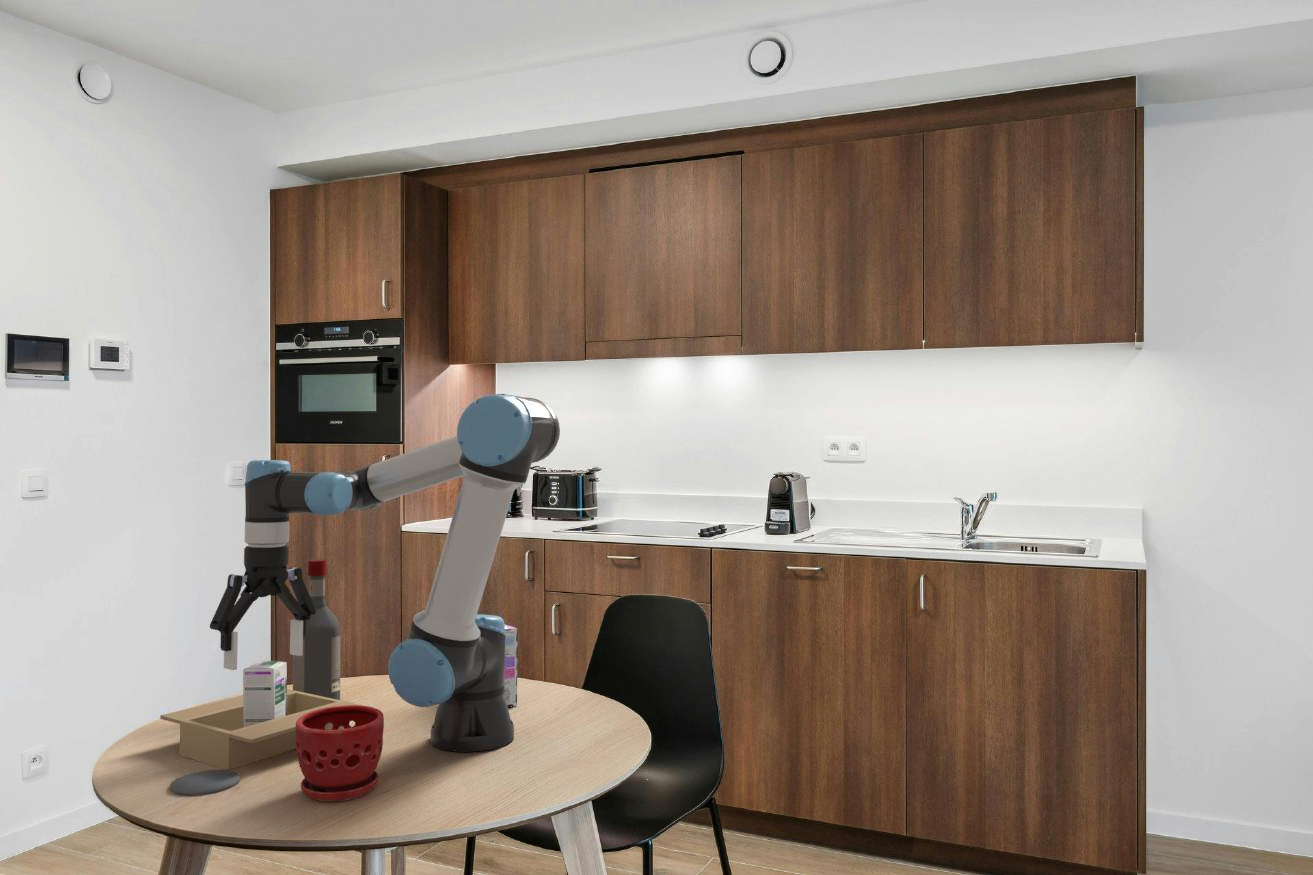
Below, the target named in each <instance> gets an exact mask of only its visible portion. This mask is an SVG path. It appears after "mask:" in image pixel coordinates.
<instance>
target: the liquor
mask: <svg viewBox="0 0 1313 875" xmlns="http://www.w3.org/2000/svg"><path fill="white" fill-rule="evenodd" d="M327 562H328V561H327V559H320V558H319V559H309V560H308V561H307V576H309V591H308V593H309V595H310V598H311V600H312V603H313V605H314V607H315V610H316V613H315V614H314V615H310V616H311V617H310V619H309V620H306V634H305V636H303V655H302V656H296V655H292V690H294V691H299V692H304V693H308V694H313V695H318V696H322V697H327V698H332V699H336V700H341V645H342V644H341V640H342V638H341V635H342V634H341V630H342V628H341V624H340V622H339V619H338V618H337V617H336V615H335V614H334V613H333V612H332V610H330V608H329V607H328V606H327V602H326V576H327V575H328V573H327V571H328V569H327V568H328V567H327V566H328V565H327V564H328V563H327Z"/></svg>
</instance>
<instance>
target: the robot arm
mask: <svg viewBox="0 0 1313 875" xmlns="http://www.w3.org/2000/svg"><path fill="white" fill-rule="evenodd" d="M560 429H561V427H560V422H559V419H558V417H557V414H556V412H555V411H554V410H553V409H552V408H551V407H550V405H548V404H547V403H545V402H544V401H541V400H539V399H537V398H533V397H525V396H524V397H522V396H518V395H512V394H507V393H496V394H489V395H487V394H486V395H484V396H481V397H479V398H477V399H475V400H474V401H472V402H470V404H469V405H468V406H467V407H466V408H465V409H464V410H463V412H462V414H461V415H460V418H459V420H458V424H457V427H456V436H453V437H450V438H447V439H444V440H441V441H438V442H435V443H432V444H429V445H426V446H423V447H421V448H420V447H419V448H417V449H414V450H410V451H408V452H404V453H402V454H398V455H396V456H393V457H390V458H387V459H384V460H381V461H378V462H375V463H372V464H369V465H367V466H366V465H365V466H363V467H361V468H357V469H353V470H345V471H343V470H342V471H341V470H340V471H319V472H318V471H316V472H315V471H313V472H312V471H310V472H309V471H292V469H291V463H290V462H289V461H288V460H280V459H279V460H278V459H256V460H255V459H253V460H251V461H249V462H248V464H247V465H246V474H245V481H244V487H245V488H244V492H245V493H244V494H245V497H244V498H245V501H244V502H245V516H244V543H245V544H247V545H246V546H245V548H243V565H244V569H245V571H244V574H243V575H240V574H239V575H238V574H233V573H230V574H229V575H227V576H228V577H227V584H226V588H225V590H224V593H223V594H222V597H221V599H220V602H219V604H218V606H217V609H216V610H215V612H214V615H213V618H212V619H211V621H210V624H209V629H211V630H214V631H219V633H220V647H219V648H220V650H221V651H223V669H227V670H230V671H235V670H238V642H239V640H238V635H239V634H238V631H234V630H235V629H236V628H237V626H238V624H239V623H240V622H241V620H242V619H243V617H244V616H245V614H246V613H247V612H248V611H249V609H250V607H251V606H252V605H253V603H254V602H256V601H257V600H258V599H259V598H266V597H268V596H272V597H273V596H275V597H276V596H277V597H278V598H279V600H280V602H282V603H283V604H284V605H285V608H286V609H287V610H288V611H289V613H291V614H292V616H293V617H294V618H293V619H290V621H289V622H290V624H289V626H290V628H289V632H290V633H289V634H290V635H289V655H292V656H293V655H296V656H302V655H303V636H305V634H306V620H309V619H310V617H311V616H310V615H314V614H315V613H316V610H315V607H314V605H313V603H312V600H311V598H310V595H309V591H308V589H307V586H306V584H305V582H304V579H303V569H302V568H301V567H294V566H290V567H289V568H288V569H287V566H288V565H289V561H290V560H289V556H290V555H289V551H290V550H289V549H290V547H289V546H288V545H287V543H289V541H290V515H291V514H308V515H319V516H321V517H322V516H335V515H336V516H338V515H341V514H343V513H344V512H346V511H358V510H359V511H366V510H370V509H373V508H377V507H379V506H380V505H382V504H383V503H385V502H387V501H391V500H394V499H396V498H400V497H402V496H406V495H411V494H412V493H415V492H420V491H421V490H426V489H428V488H432V487H435V486H437V485H441V484H444V483H447V482H450V481H454V480H458V479H460V478H463V481H462V485H461V487H460V491H459V494H458V498H457V501H456V503H455V504H456V505H455V507H454V512H453V514H452V517H451V522H450V524H449V528H448V531H447V534H446V538H445V541H444V546H443V548H442V551H441V552H442V553H441V556H440V559H439V563H438V566H437V568H436V572H435V576H434V579H433V582H432V585H431V588H430V589H431V590H430V593H429V595H428V600H427V603H426V606H425V608H424V609H423V610H421V611H419V612H417V613H416V614H415V615H414V616H413V618H412V621H411V625H410V628H409V632H408V634H407V638H406V639H405V640H404V641H401V642H399V644H398V645H397V646H396V647H395V648H394V650H393V651H392V652H391V654H390V657H389V659H388V666H387V667H388V668H387V670H388V671H387V672H388V678H389V681H390V683H391V685H393V688H394V691H395V692H396V694H397V695H398V697H400V698H401V699H402V700H404V702H406V703H408V704H410V705H411V706H414V707H419V708H429V707H433V706H435V705H438V706H437V709H436V713H435V717H434V720H433V724H432V725H431V727H430V744H431V745H432V746H433V747H434V748H437V749H440V750H442V751H450V752H456V753H457V752H461V753H462V752H463V753H467V752H470V753H471V752H482V751H488V750H494V749H498V748H501V747H504V746H506V745H508V744H510V743H511V742H512V741H513V740H514V738H515V726H514V723H513V722H514V721H513V720H512V719H511V716H510V715H511V714H510V711H509V707H507V703H506V700H505V638H506V633H505V625H506V624H505V621H504V619H503V617H501V616H500V615H499V616H498V615H493V614H483V613H482V614H480V613H479V614H478V612H479V609H480V605H481V602H482V599H483V594H484V592H485V589H486V585H487V582H488V578H489V575H490V572H491V569H492V565H493V562H494V559H495V555H496V551H497V549H498V545H499V543H500V538H501V535H502V532H503V528H504V526H505V522H506V518H507V516H508V513H509V508H510V505H511V502H512V499H513V495H514V493H515V490H516V489H518V488H519V487H522V486H523V485H525V484H526V483H527V481H528V477H529V474H530V470H531V467H532V464H534V463H538V462H540V461H542V460H543V461H544V459H546V458H547V457H549V456H550V455H551V454H552V452H554V450H555V448H556V447H557V445H558V443H559V440H560V436H561V435H560V434H561V430H560ZM287 580H288V582H289V584H290V586H291V589H292V591H293V593H294V594H292V593H291V589H290V588H289V587H288V586H287V584H286V581H287ZM244 586H245V587H244ZM242 587H244V588H243V589H242ZM239 595H240V597H239ZM295 597H296V598H295Z"/></svg>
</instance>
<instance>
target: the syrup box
mask: <svg viewBox="0 0 1313 875" xmlns="http://www.w3.org/2000/svg"><path fill="white" fill-rule="evenodd" d="M287 665H288V663H287V661H284V660H283V661H282V660H261V661H256V662H255V663H253V664H251V665H249V666H247V667H245V668H243V669H242V695H243V722H244V727H248V726H251V725H255V724H258V723H262V722H266V721H269V720H273V719H276V718H280V717H284V716H287V689H288V677H287V673H288V671H287V669H288V668H287Z"/></svg>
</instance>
